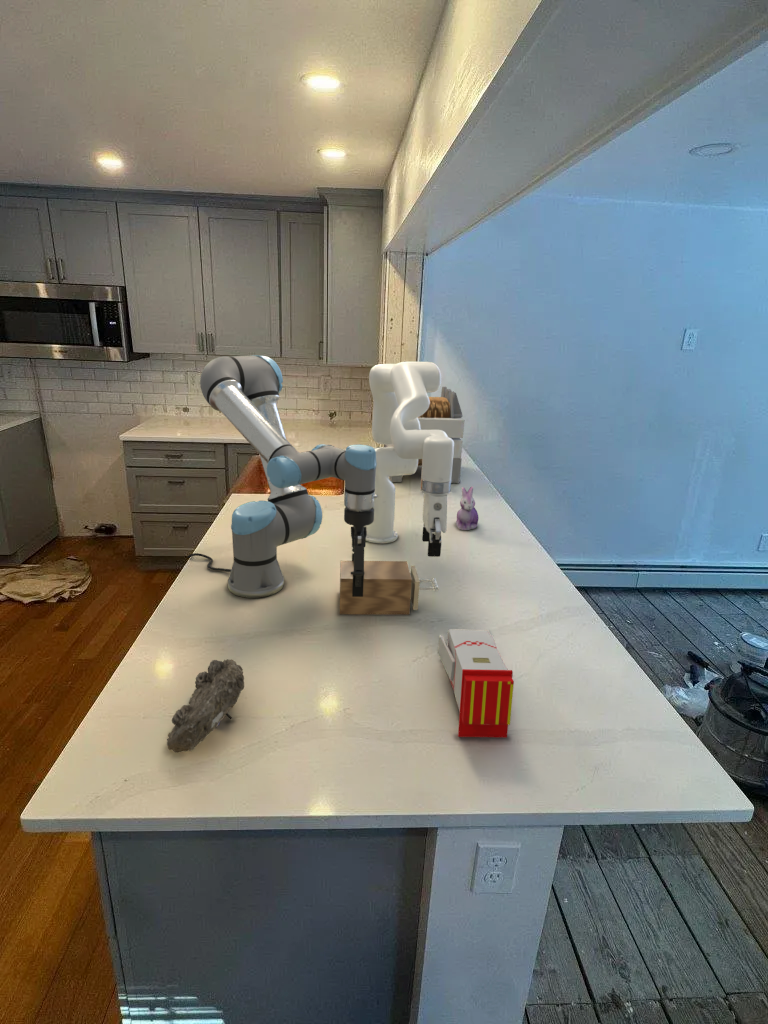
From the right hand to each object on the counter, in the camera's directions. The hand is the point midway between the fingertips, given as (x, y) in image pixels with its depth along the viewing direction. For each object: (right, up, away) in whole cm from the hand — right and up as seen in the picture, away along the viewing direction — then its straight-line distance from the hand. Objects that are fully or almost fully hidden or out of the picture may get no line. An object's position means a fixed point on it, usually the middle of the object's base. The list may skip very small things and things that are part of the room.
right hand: (430, 548), depth 148 cm
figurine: (+18, +4, +62) cm, 65 cm away
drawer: (-9, -14, +4) cm, 18 cm away
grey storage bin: (+5, +28, +127) cm, 131 cm away
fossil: (-45, -30, -40) cm, 67 cm away
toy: (+6, -28, -29) cm, 41 cm away
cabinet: (-15, -15, +4) cm, 22 cm away
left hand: (-19, -10, +2) cm, 22 cm away
